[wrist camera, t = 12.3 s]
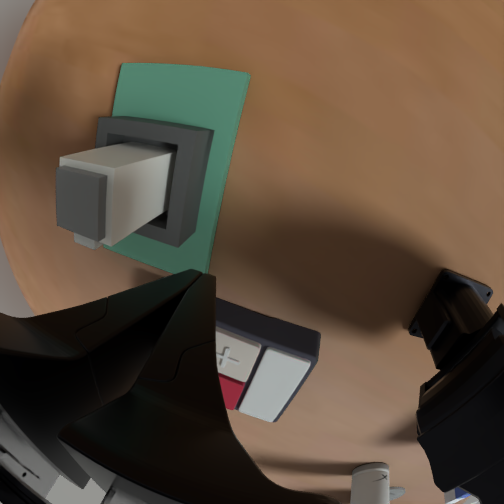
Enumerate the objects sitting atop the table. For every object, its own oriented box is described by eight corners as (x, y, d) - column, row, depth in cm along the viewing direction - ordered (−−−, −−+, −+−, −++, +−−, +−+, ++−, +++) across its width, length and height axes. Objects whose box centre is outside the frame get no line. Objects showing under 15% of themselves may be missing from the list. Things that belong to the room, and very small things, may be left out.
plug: (180, 151, 18) (106, 171, 11) (170, 214, 20) (104, 262, 13) (132, 141, 18) (51, 159, 11) (125, 201, 20) (54, 239, 13)
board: (250, 75, 16) (234, 63, 13) (206, 277, 24) (188, 304, 20) (129, 64, 17) (97, 58, 14) (109, 243, 25) (82, 261, 21)
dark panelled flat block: (140, 294, 22) (319, 365, 20) (166, 270, 26) (322, 331, 24) (140, 373, 27) (274, 429, 25) (158, 348, 31) (282, 399, 29)
